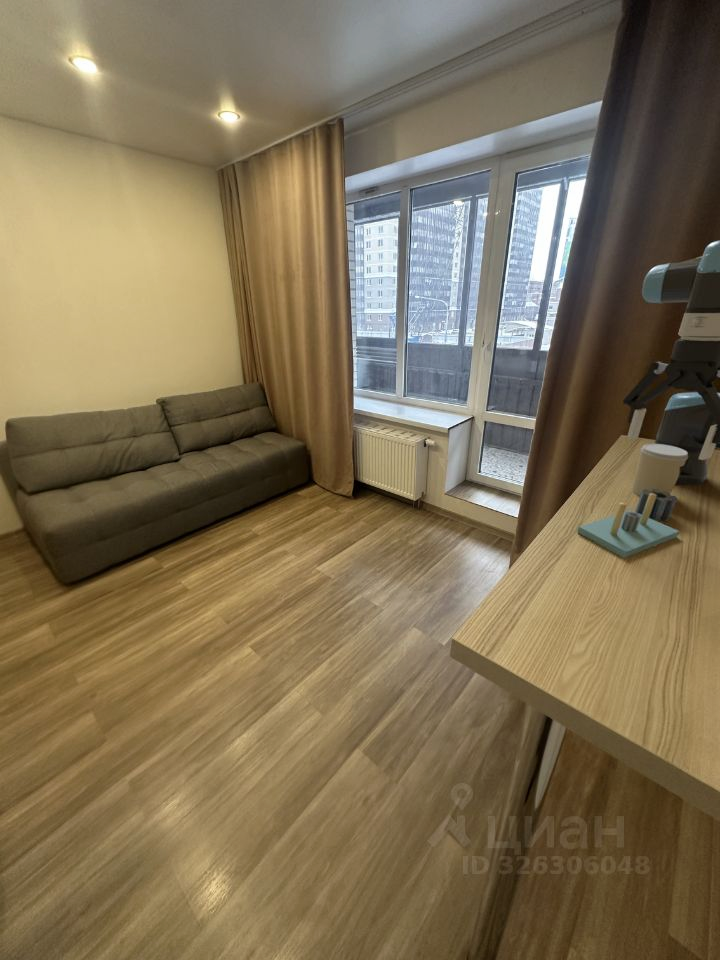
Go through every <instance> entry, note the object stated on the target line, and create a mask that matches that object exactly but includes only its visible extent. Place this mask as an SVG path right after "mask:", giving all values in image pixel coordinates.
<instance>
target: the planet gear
mask: <svg viewBox="0 0 720 960" xmlns="http://www.w3.org/2000/svg"><path fill="white" fill-rule="evenodd" d="M650 493H653V494H656V495H657V496H656V499H655V501H654V504H653V507H652V510H651V513H650V515H649V518H650V519H652V520H655V521H657V522H661V521H664V522H667V521H669V520H670V519H671V516H672V513H673V511H674V508H675V505H676V503H677V499H678V498H677V496H676V495H671V493H668V492H660V491H658V490H656V489H652V490H647V489H645V490H643V491H642V493H641V496H639V500H638V503H637V505H636V508H635V512H636V513H639V514H641V515H642V514H643V511H644V508H645V505H646V502H647V500H648V497H649V494H650Z"/></svg>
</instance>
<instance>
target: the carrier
mask: <svg viewBox="0 0 720 960" xmlns="http://www.w3.org/2000/svg"><path fill="white" fill-rule="evenodd" d="M656 496H657V495H656V494H653V493H650V494H649V497H648V500H647V502H646V505H645V508H644V511H643V514H639V513H636V511H634V510H631V509H629V510H626V508H627V506H628V505H627V503H625V502H619V504H618V507H617V510H616V512H615V514H613V515H610V516H607V517H603V518H600V519H599V520H595V521H592V522H589V523H585V524H583V525H579V526H578V528H577V532H578V533H577V534H579V533H580V534H579V535H581V534H582V535H583V536H582V535H581V536H582V537H584V536H585V538H586V537H587V538H586V539H588V538H589V540H590V539H591V540H590V541H592V540H593V541H595V542H596V544H597V543H598V544H597V545H599V544H600V545H599V546H601V545H602V546H601V547H602V548H604V547H605V549H606V548H607V549H606V550H608V551H610V552H612V553H613V554H616V555H617V556H620V557H621V558H623V559H625V558H629V557H631V556H633V555H636V554H638V553H641V552H643V551H645V549H646V550H649V549H651V548H653V547H652V546H654V547H656V546H658V545H657V544H659V545H661V544H664V543H666V542H668V540H669V541H672V540H673V539H677V537H678V535H679V532H680V530H677V529H676V528H674V527H671V526H668V525H665V524H663V523H661V522H660V521H655V520H653V519H651V518H649V515H650V513H651V510H652V507H653V504H654V501H655V499H656ZM593 541H592V542H593ZM665 541H666V542H665ZM595 542H594V543H595ZM663 542H664V543H663ZM660 543H661V544H660ZM655 545H656V546H655ZM650 547H651V548H650Z"/></svg>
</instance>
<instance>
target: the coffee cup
mask: <svg viewBox="0 0 720 960" xmlns="http://www.w3.org/2000/svg"><path fill="white" fill-rule="evenodd" d="M687 459H688V453H687V452H686V451H685V450H683V449H681V448H678V447H674V446H670V445H664V444H654V443H646V444H644V445H643V446H642V447H641V448H640V453H639V458H638V462H637V466H636V470H635V474H634V478H633V483H632V487H631V490H632V493H634V494H635V495H638V496H639V497H640V496H641V493H642V491H643V490H645V489H647V490H652V489H656V490H658V491H660V492H668V493H670V494H672V491H673V489H674V487H675V485H676V484H677V483H676V481H677V479H678V477H679V475H680V472H681V470H682V468H683V466H684V464H685V462H686V460H687Z"/></svg>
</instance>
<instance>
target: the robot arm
mask: <svg viewBox="0 0 720 960" xmlns="http://www.w3.org/2000/svg"><path fill="white" fill-rule="evenodd" d="M641 288H642V289H641V295H642V298H643V300H644V301H645V302H647V303H652V304H653V303H655V304H662V305H663V304H665V303H666V304H667V303H668V304H670V303H687V304H686V305H687V306H686V308H685V311H684V314H683V317H682V320H681V322H680V327H679V330H678V333H677V334H678V336H680V338H678V339H677V340H675V342H674V346H673V348H672V353H671V355H670V361H669V363H664V361H654V362H651V363H650V365H649V367H648V369H647V371H646V373H645V375H644V376H643V377H642V378H641V379H640V381H638V382H637V384H636V385H635V386H634V388H632V389H631V391H630V392H629V393H628V394H627V395H626V396H625V398H624V399H623V401H622V403H623V404H624V405H627V406H629V407H630V411H629V412H630V413H629V414H628V415H629V416H628V419H627V422H628V424H630V426H629V429H628V432H627V436H626V439H627V440H629V441H631V440H634V439H635V440H636V439H638V438H639V435H640V432H641V428H642V425H643V421H644V418H645V416H646V415H645V414H646V413H647V408H644V407H645V406H646V405H648V404H649V403H650V402H653V400H655V399H657V398H658V397H660V395H662V394H663V393H665V392H666V391H668V390H669V389H671V388H672V389H674V390H685V391H686V392H680V393H679V392H678V393H676V394H673V395H672V396H671V397H670V398H669V400H668V402H667V404H666V407H665V408H664V413H663V416H662V419H661V423H660V425H659V428H658V430H657V434H656V438H655V439H654V440H655V441H654V442H653V444H664V445H670V446H674V447H678V448H681V449H683V450H685V451H686V452H687V453H688V459H687V460H686V462H685V464H684V466H683V468H682V470H681V472H680V475H679V477H678V479H677V481H676V483H675V484H678V485H679V484H680V485H688V486H689V485H691V486H692V485H693V486H695V485H701V484H703V483H705V481H706V479H707V477H708V459H711V458H712V455H713V452H714V451H715V449H717V450H720V392H718V391H717V387H716V386H715V384H714V383H713V382H714V380H717V379H718V378H720V240H715V241H713V242H710V243H709V244H708V245H707V246H706V247H705V249H704V252H703V254H702V255H701V256H698V257H695V258H690V259H687V260H685V261H680V262H674V263H673V262H668V263H664V264H658V265H656V266H654V267H652V268H651V269H650V270H649V271H648V272H647V274H646V276H645V277H644V280H643V283H642V287H641ZM663 373H665V374H666V376H667V378H665V379H663V380H662V381H660V382H659V383H658V384H657V386H655V387H654V388H652V389H651V390H648V388H650V386H651V385H652V384H653V383H654V381H656V379H657V378H658V377H659V376H660V375H661V374H663ZM647 390H648V392H647V393H645V392H646V391H647ZM687 391H688V392H687ZM644 393H645V394H644ZM643 394H644V395H643Z"/></svg>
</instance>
